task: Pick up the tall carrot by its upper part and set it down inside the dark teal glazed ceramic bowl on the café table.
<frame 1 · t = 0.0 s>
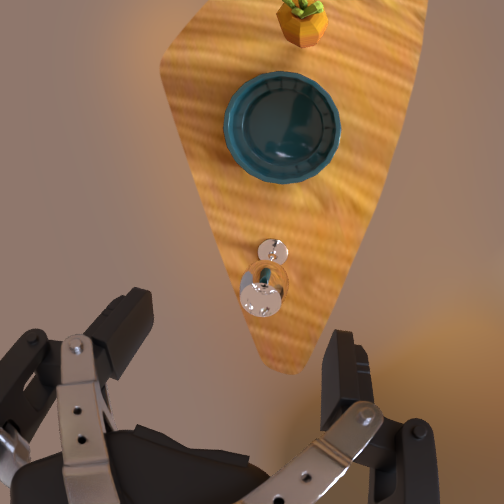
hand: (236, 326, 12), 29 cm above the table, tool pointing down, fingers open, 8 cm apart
carrot: (303, 42, 30), on the table
wineglass: (273, 252, 43), on the table
bowl: (284, 126, 35), on the table
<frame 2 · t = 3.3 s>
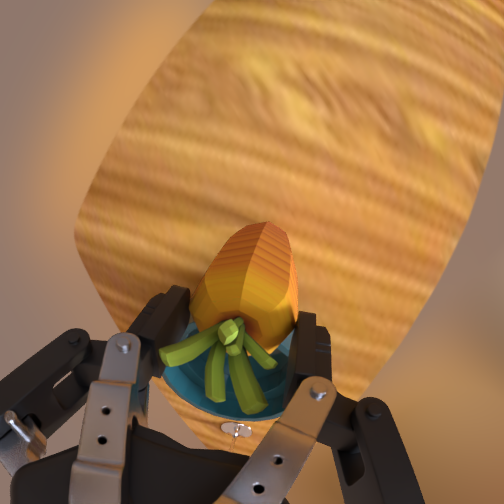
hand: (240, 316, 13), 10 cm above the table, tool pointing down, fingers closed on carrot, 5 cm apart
carrot: (269, 228, 22), on the table, touching gripper
wineglass: (236, 428, 36), on the table
bowl: (240, 342, 28), on the table
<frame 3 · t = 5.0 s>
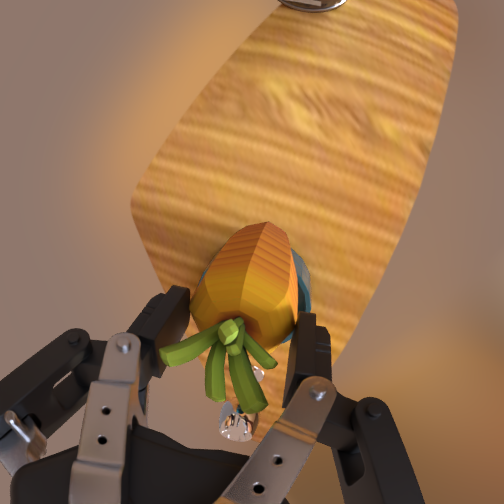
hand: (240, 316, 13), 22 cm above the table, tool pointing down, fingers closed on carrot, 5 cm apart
carrot: (269, 228, 22), point 11 cm above the table, touching gripper
wineglass: (250, 373, 46), on the table
bowl: (259, 282, 38), on the table
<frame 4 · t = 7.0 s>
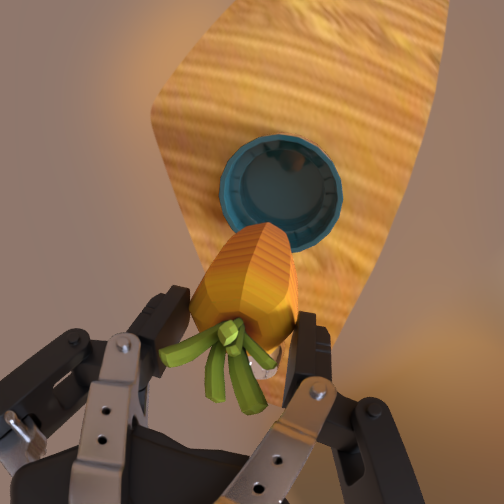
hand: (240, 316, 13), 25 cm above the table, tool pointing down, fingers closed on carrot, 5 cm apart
carrot: (269, 228, 22), point 15 cm above the table, touching gripper
wineglass: (270, 306, 43), on the table
bowl: (283, 186, 35), on the table
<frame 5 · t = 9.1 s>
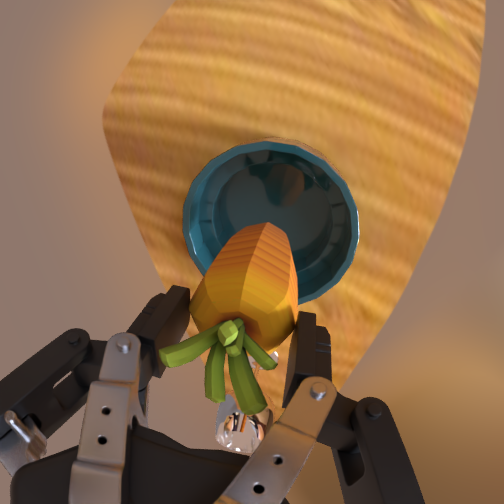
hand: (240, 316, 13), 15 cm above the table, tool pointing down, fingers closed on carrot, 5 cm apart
carrot: (269, 228, 22), point 4 cm above the table, touching gripper
wineglass: (260, 356, 34), on the table
bowl: (275, 212, 26), on the table
when the fingers open (11 cm above the table, at t = 10.6 s): carrot stays where it is, resting on bowl.
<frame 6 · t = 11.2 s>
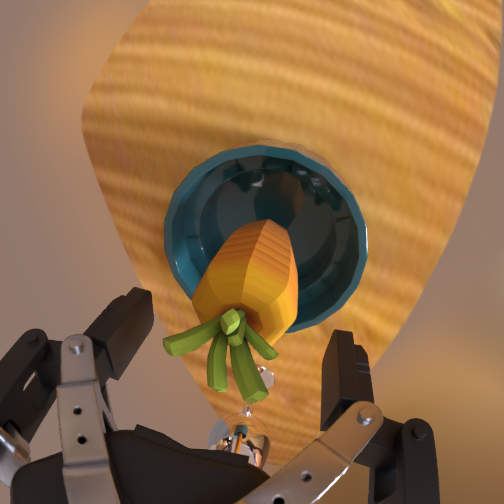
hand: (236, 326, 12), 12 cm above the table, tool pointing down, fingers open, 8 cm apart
carrot: (270, 225, 23), resting on bowl
wineglass: (255, 376, 31), on the table
bowl: (270, 225, 23), on the table
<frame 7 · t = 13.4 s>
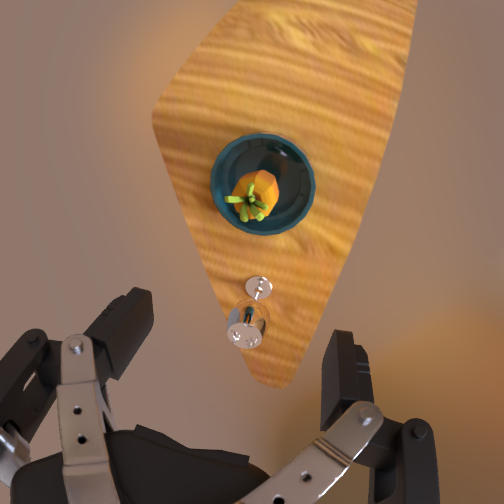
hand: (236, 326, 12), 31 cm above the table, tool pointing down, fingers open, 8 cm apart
carrot: (266, 178, 40), resting on bowl
wineglass: (258, 287, 49), on the table
bowl: (266, 178, 40), on the table
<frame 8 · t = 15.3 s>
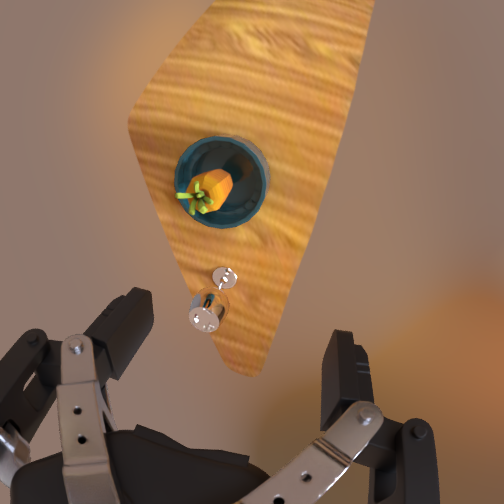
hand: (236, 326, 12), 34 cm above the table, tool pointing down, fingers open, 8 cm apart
carrot: (226, 176, 44), resting on bowl
wineglass: (224, 277, 52), on the table
bowl: (227, 176, 44), on the table
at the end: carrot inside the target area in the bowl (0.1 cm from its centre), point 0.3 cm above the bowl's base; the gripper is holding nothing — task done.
